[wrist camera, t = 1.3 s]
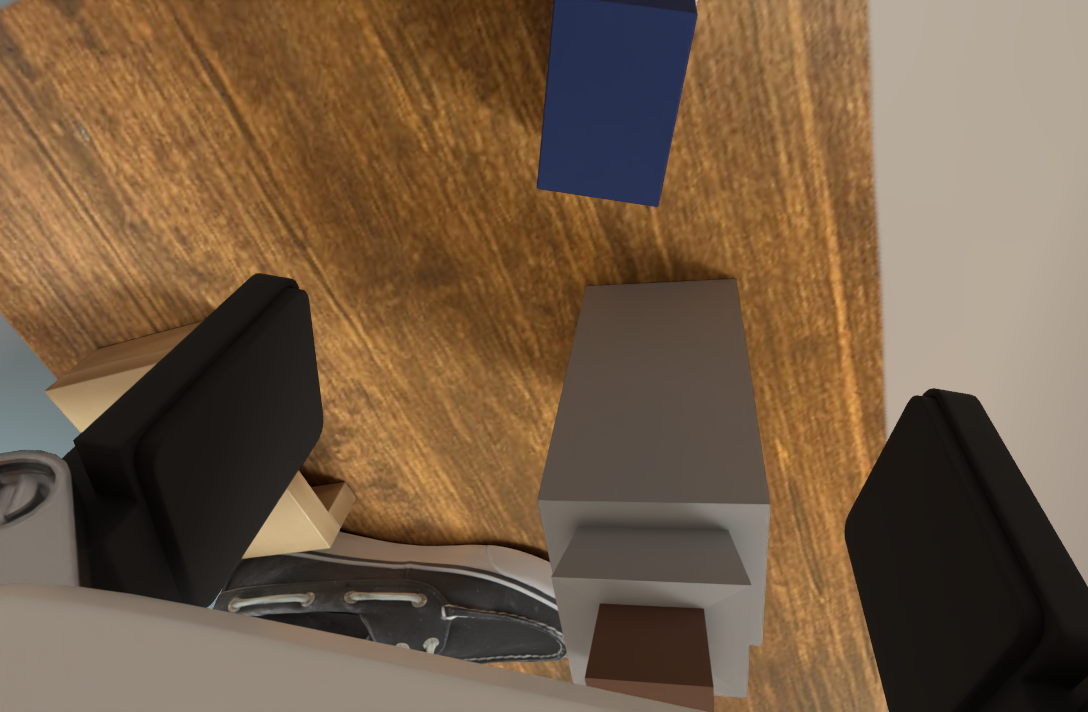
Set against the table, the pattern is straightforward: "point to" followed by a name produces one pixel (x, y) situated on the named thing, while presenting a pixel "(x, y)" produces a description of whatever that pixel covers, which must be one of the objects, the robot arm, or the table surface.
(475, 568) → the boat shoe
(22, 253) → the table surface
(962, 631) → the robot arm
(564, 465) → the perfume bottle
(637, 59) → the high-top sneaker
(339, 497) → the shoe shelf
